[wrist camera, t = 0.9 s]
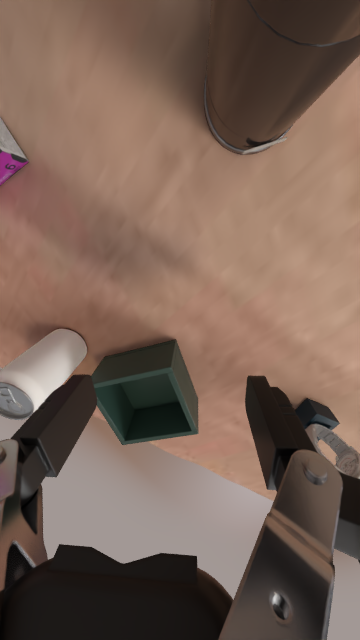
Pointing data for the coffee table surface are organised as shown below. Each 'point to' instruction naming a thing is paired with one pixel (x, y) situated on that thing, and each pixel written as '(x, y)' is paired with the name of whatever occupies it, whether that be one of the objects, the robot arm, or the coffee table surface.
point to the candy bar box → (9, 154)
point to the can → (39, 372)
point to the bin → (147, 394)
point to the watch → (328, 436)
